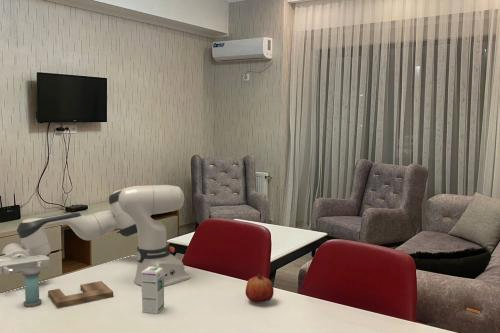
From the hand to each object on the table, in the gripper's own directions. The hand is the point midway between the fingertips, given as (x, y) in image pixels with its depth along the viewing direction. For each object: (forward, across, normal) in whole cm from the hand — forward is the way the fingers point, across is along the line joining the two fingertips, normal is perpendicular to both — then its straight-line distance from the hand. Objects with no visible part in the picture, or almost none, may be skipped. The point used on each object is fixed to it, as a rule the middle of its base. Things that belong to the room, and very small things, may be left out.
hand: (24, 270), depth 174 cm
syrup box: (+40, -33, -9) cm, 53 cm away
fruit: (+54, -68, -9) cm, 88 cm away
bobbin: (+12, 0, -9) cm, 15 cm away
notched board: (+14, -16, -9) cm, 23 cm away
